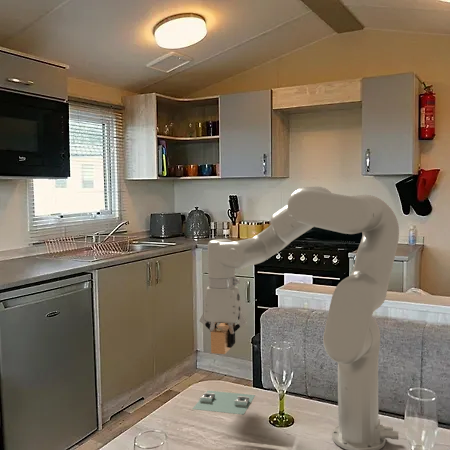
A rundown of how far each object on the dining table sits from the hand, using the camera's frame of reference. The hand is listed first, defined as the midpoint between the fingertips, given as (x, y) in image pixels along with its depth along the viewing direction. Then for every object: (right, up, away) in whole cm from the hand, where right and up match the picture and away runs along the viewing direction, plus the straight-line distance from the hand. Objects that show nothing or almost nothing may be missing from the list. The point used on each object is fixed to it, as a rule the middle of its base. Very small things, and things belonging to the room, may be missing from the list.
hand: (223, 345), depth 142 cm
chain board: (0, -17, +1) cm, 18 cm away
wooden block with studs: (0, -1, 0) cm, 1 cm away
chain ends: (0, -17, +1) cm, 17 cm away
